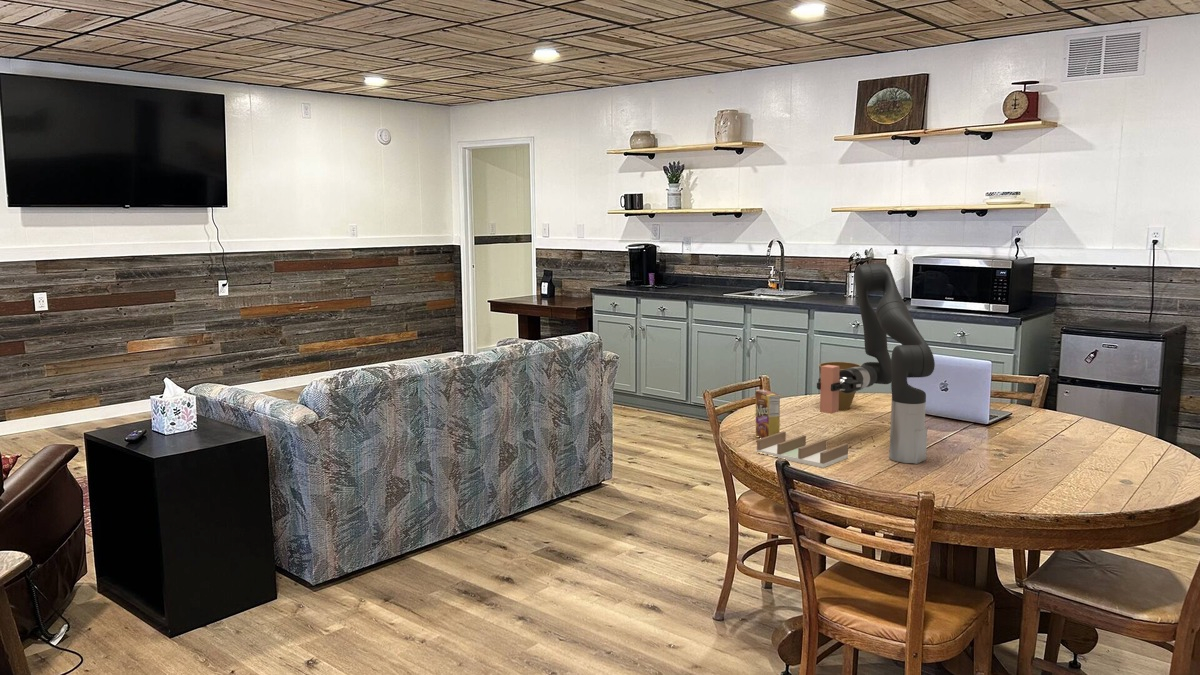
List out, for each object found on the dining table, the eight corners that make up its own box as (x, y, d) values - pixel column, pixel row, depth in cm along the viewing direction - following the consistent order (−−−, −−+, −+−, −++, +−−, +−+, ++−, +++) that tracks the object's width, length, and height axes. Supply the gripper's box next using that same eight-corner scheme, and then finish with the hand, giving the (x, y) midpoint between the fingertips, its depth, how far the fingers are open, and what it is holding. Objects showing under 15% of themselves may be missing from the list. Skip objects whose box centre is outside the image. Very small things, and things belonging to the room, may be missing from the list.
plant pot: (812, 404, 327) (813, 362, 325) (851, 403, 328) (853, 361, 326) (825, 413, 312) (826, 369, 310) (866, 412, 313) (867, 368, 311)
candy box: (754, 436, 280) (755, 389, 278) (766, 435, 281) (767, 388, 279) (767, 443, 271) (768, 395, 269) (779, 442, 273) (781, 394, 271)
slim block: (838, 411, 267) (839, 366, 265) (831, 413, 264) (832, 367, 262) (826, 409, 269) (827, 364, 268) (819, 411, 266) (820, 366, 265)
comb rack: (847, 457, 255) (848, 443, 254) (823, 467, 245) (823, 453, 244) (782, 444, 270) (782, 431, 269) (756, 453, 260) (757, 439, 260)
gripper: (832, 365, 280) (804, 372, 268) (874, 370, 270) (846, 377, 258) (832, 388, 281) (803, 396, 269) (873, 394, 271) (846, 402, 259)
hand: (825, 386), depth 264 cm, fingers closed on slim block, 4 cm apart
